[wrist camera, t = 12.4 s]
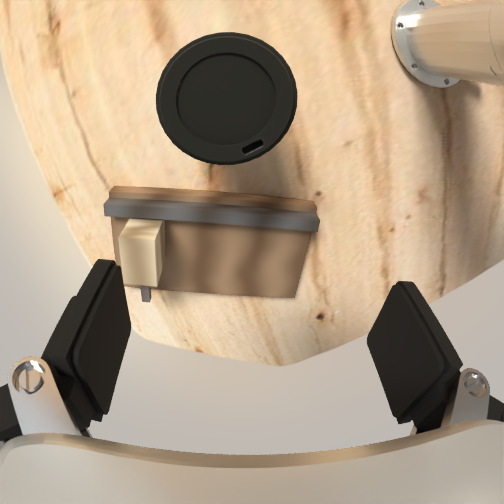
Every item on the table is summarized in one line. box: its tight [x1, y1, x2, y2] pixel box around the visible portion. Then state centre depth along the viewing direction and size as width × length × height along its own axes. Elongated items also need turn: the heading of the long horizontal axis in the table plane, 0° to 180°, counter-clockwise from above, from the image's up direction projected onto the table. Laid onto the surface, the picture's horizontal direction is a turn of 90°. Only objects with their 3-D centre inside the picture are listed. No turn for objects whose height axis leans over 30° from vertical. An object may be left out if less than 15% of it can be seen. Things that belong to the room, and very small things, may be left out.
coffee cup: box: [156, 32, 297, 165], centre depth 24 cm, size 10×10×15 cm
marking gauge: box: [118, 218, 166, 302], centre depth 35 cm, size 4×10×6 cm, turn 173°
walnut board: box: [104, 186, 320, 298], centre depth 38 cm, size 25×14×4 cm, turn 83°
